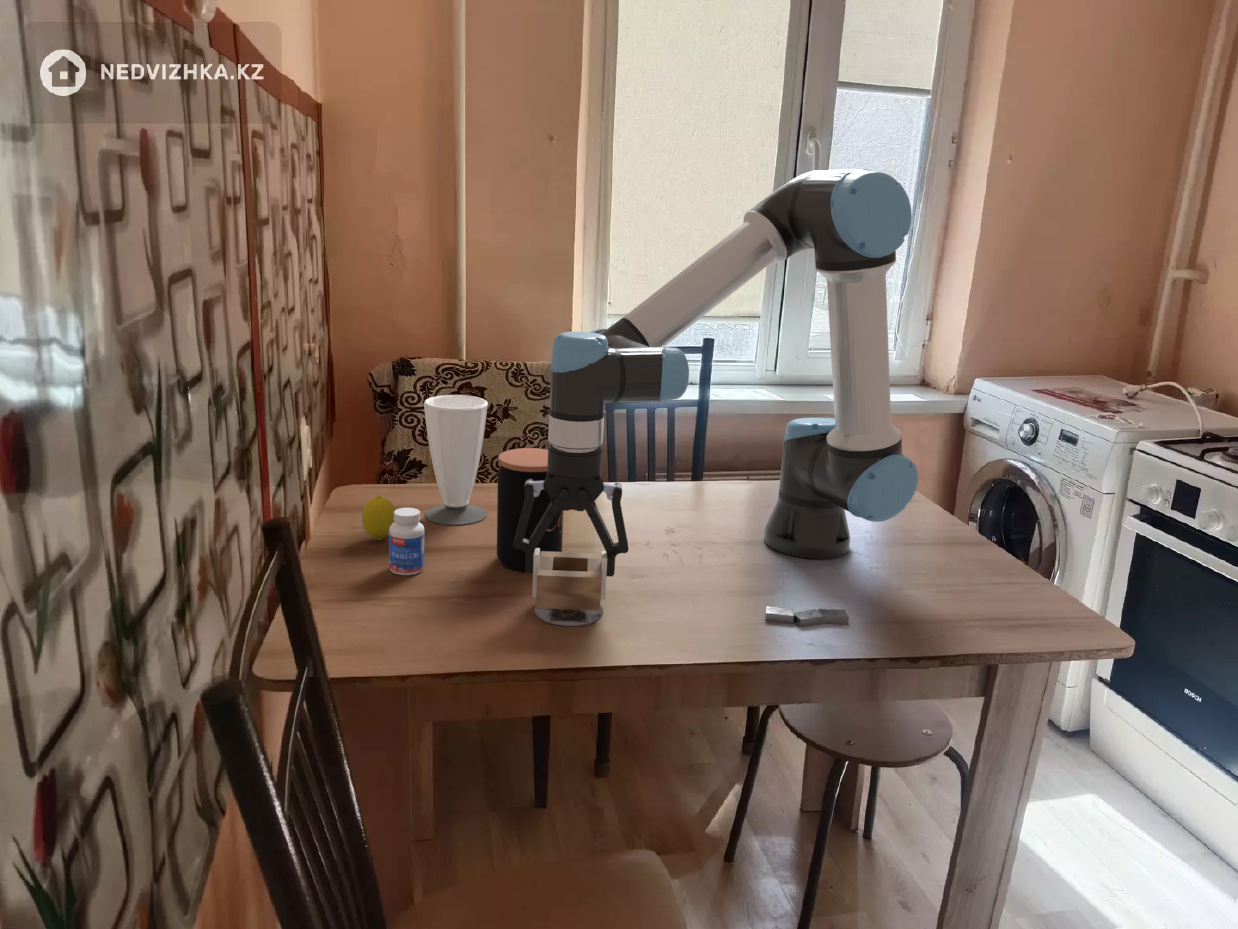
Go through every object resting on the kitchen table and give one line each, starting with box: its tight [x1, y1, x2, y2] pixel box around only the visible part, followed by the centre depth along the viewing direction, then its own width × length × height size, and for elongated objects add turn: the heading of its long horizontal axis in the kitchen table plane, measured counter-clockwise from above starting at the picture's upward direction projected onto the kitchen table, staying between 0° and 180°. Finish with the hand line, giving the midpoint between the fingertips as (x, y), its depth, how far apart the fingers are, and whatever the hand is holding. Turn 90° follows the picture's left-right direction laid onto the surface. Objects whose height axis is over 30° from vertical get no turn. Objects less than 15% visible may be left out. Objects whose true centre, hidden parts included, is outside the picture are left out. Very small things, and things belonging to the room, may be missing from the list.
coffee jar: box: [496, 447, 564, 574], centre depth 148 cm, size 11×11×18 cm
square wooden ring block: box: [535, 551, 602, 611], centre depth 132 cm, size 9×9×5 cm
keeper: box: [534, 604, 604, 628], centre depth 133 cm, size 10×10×6 cm
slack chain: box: [764, 605, 850, 628], centre depth 134 cm, size 12×4×1 cm, turn 92°
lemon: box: [361, 495, 396, 541], centre depth 155 cm, size 6×6×8 cm
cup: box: [423, 394, 489, 526], centre depth 167 cm, size 12×12×22 cm
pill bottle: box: [388, 507, 425, 576], centre depth 144 cm, size 6×5×10 cm
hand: (569, 594), depth 133 cm, fingers closed on square wooden ring block, 9 cm apart
